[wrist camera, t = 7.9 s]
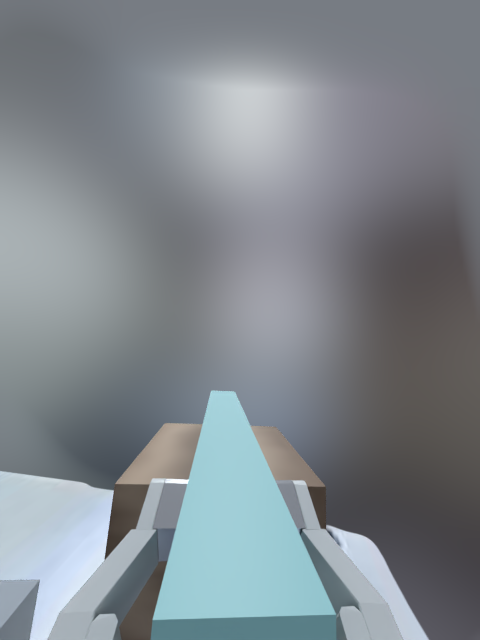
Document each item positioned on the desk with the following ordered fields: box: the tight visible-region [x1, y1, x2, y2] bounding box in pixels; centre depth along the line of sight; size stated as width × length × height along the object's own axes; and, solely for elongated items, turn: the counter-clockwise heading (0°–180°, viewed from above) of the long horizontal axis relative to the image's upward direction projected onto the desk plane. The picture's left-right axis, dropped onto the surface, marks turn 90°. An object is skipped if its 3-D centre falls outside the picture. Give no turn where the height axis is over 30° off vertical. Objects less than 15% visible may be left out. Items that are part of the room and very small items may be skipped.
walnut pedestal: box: [105, 423, 326, 640], centre depth 17 cm, size 12×12×26 cm
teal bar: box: [151, 391, 336, 640], centre depth 16 cm, size 3×26×3 cm, turn 5°
